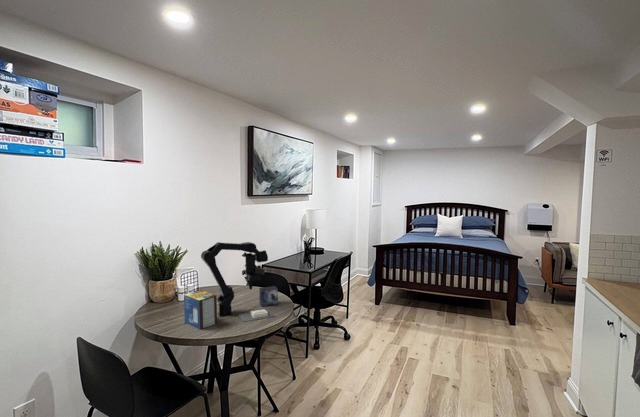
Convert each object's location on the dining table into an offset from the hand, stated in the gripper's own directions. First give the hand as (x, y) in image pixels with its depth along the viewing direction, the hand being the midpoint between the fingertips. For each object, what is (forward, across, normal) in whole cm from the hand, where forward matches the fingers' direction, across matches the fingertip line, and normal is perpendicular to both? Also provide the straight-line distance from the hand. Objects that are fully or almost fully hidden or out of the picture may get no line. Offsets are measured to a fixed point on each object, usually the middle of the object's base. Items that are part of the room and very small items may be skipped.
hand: (250, 289), depth 203 cm
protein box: (+12, -10, +30) cm, 34 cm away
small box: (+12, +3, -12) cm, 17 cm away
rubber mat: (+12, -13, 0) cm, 18 cm away
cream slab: (+11, -11, -1) cm, 15 cm away
